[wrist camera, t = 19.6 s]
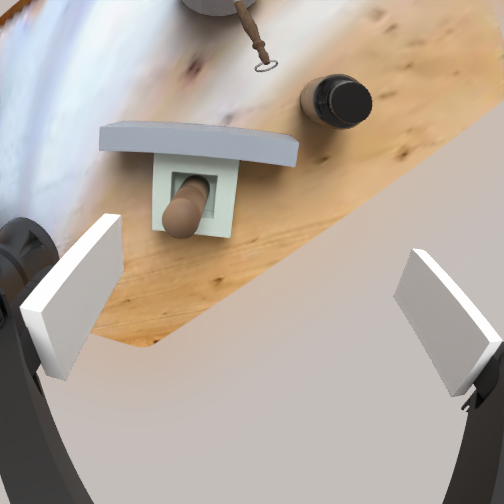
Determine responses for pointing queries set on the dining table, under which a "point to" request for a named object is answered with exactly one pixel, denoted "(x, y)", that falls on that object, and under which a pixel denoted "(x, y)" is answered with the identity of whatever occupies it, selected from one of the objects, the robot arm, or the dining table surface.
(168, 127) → the wall
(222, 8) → the coffee pot
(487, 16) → the dining table surface
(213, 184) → the socket block
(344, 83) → the supplement bottle
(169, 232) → the dowel
